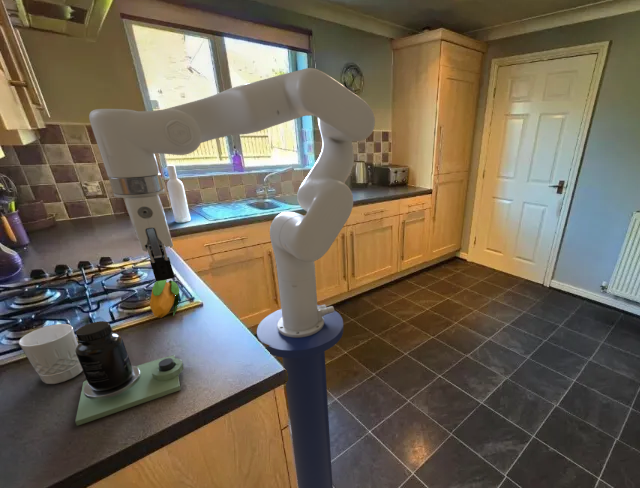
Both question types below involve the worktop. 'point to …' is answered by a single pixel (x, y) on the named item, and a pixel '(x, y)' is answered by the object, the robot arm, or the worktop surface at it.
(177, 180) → the bottle
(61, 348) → the white cup
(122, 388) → the scale pan
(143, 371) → the scale
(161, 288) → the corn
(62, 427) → the worktop surface
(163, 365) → the tare button
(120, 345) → the supplement bottle
